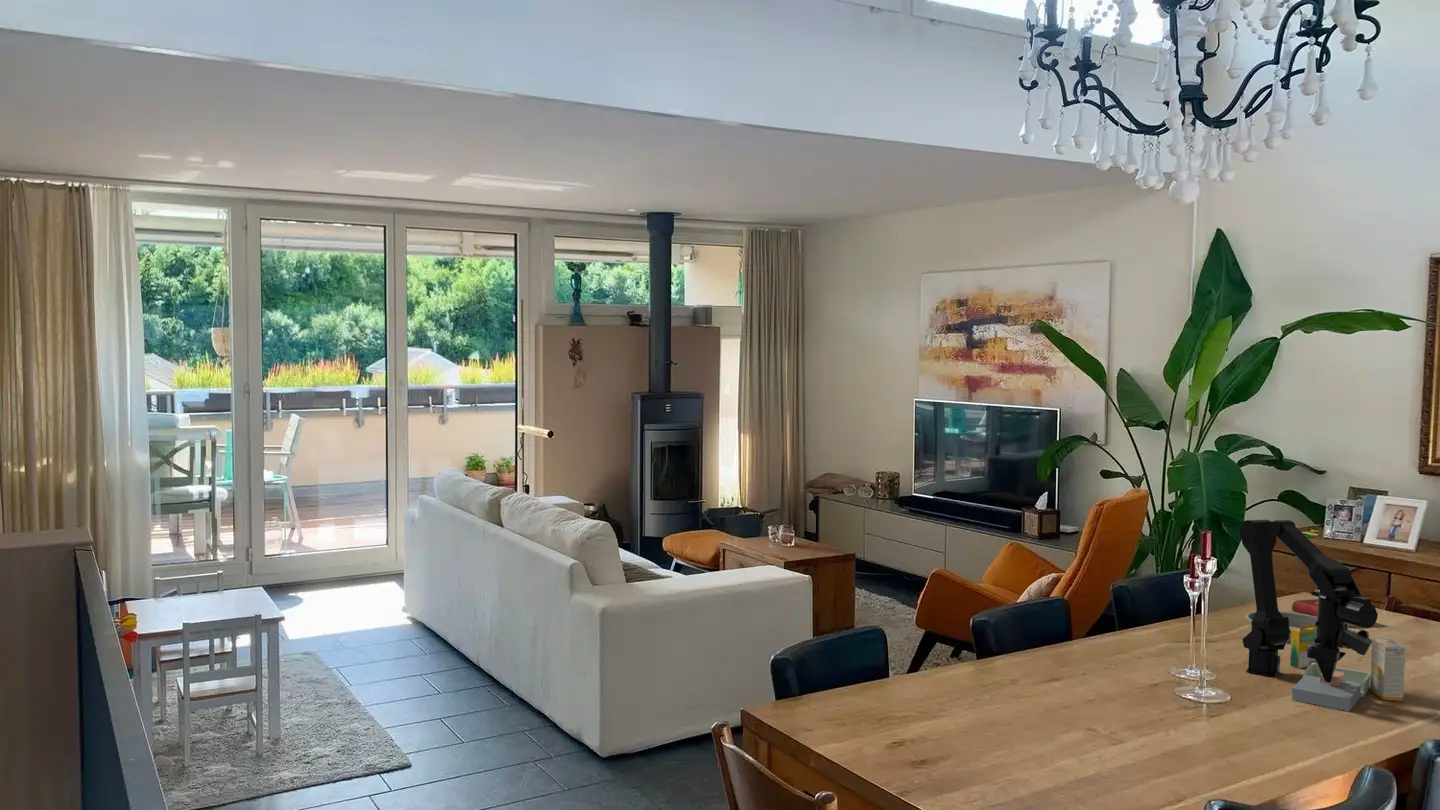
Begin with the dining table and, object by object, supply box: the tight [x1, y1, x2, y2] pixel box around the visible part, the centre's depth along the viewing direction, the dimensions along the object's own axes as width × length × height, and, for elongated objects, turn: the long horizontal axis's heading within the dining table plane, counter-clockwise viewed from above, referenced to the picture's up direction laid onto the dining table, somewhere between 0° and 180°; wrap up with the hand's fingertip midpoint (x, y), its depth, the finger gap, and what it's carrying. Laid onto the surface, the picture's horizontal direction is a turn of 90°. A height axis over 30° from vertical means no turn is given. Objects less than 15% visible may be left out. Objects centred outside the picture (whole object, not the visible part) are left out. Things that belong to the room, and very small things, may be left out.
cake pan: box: [1245, 610, 1318, 644], centre depth 318 cm, size 25×25×4 cm
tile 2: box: [1334, 671, 1346, 682], centre depth 266 cm, size 4×4×2 cm
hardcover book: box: [1290, 598, 1357, 628], centre depth 339 cm, size 12×21×4 cm, turn 15°
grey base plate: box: [1291, 675, 1361, 712], centre depth 259 cm, size 12×14×3 cm
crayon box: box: [1289, 624, 1319, 669], centre depth 286 cm, size 7×3×12 cm, turn 108°
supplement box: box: [1369, 638, 1407, 702], centre depth 262 cm, size 8×5×13 cm, turn 168°
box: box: [1302, 663, 1371, 698], centre depth 269 cm, size 13×11×4 cm
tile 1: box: [1320, 673, 1343, 686], centre depth 262 cm, size 4×4×2 cm
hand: (1328, 681), depth 260 cm, fingers closed
